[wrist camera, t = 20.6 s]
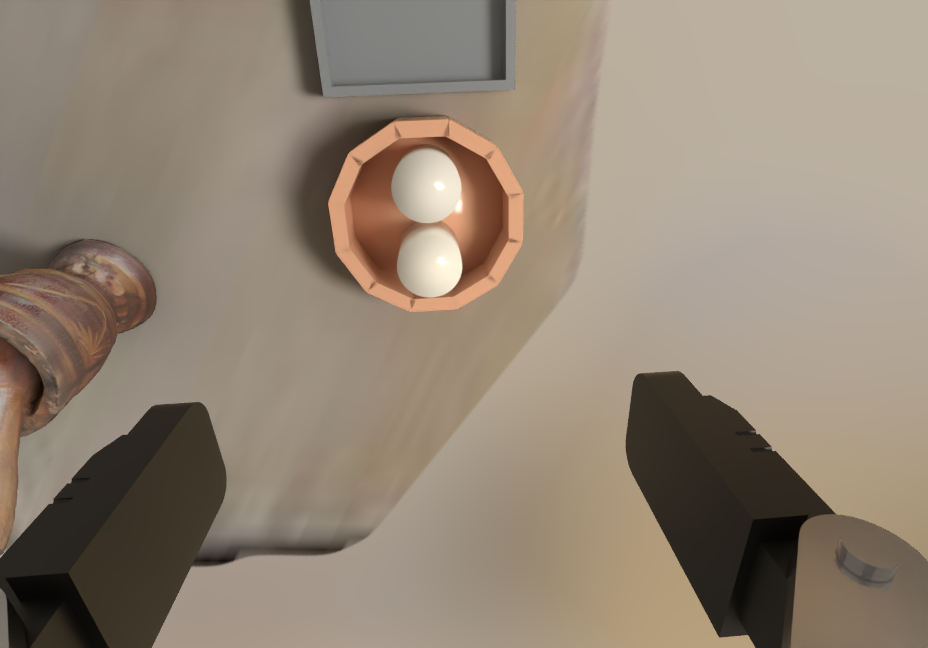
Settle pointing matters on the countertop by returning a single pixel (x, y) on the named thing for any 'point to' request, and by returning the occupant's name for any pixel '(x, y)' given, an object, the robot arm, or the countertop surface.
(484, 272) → the bowl
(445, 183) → the cream rounded piece
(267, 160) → the countertop surface
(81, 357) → the mortar and pestle
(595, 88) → the countertop surface
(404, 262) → the cream rounded lump
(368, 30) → the tray
